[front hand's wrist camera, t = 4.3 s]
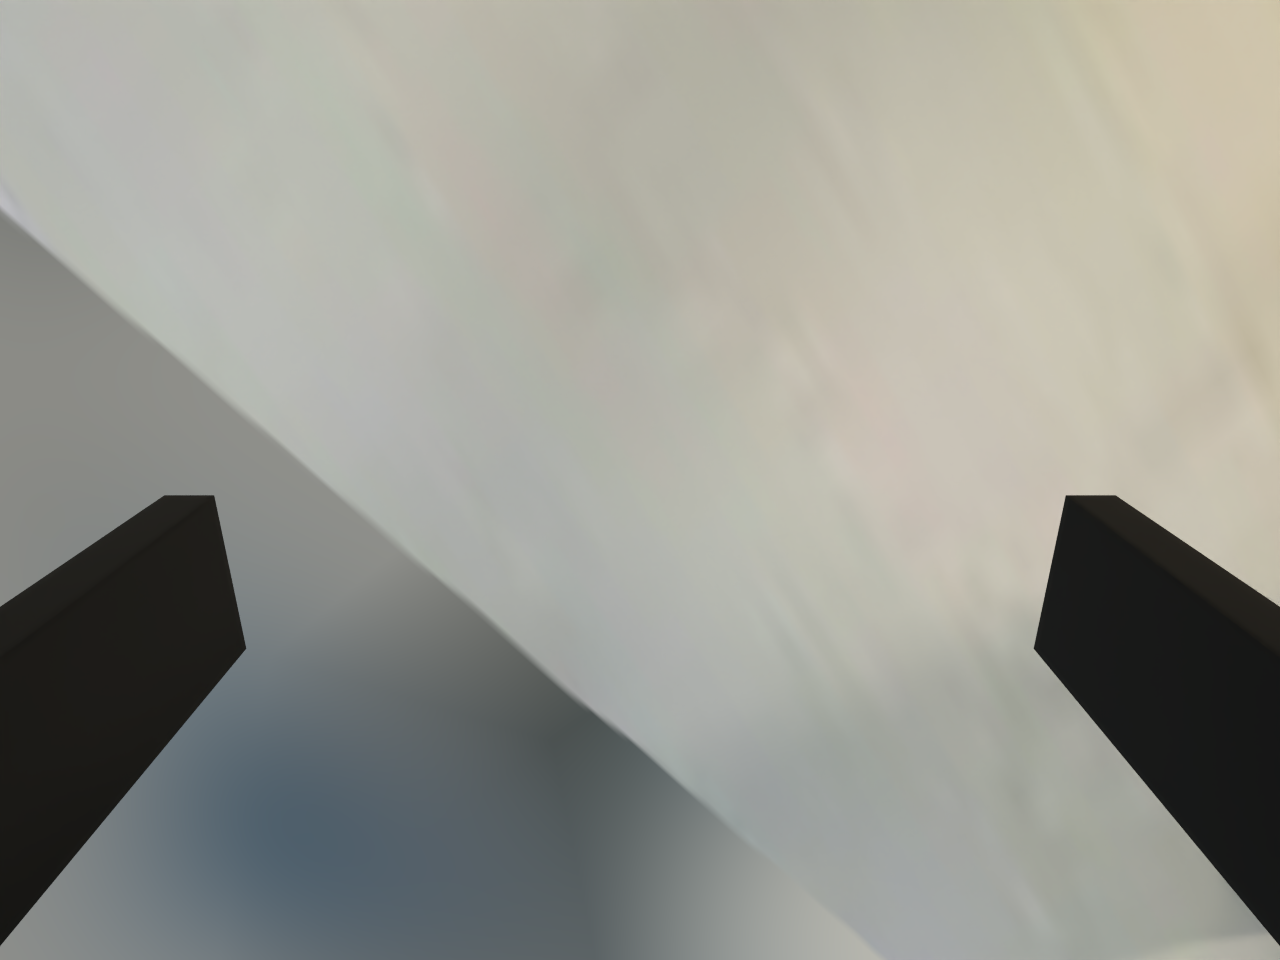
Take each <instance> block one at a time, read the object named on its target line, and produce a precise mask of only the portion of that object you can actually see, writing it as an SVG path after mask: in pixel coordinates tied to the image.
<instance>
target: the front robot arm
mask: <svg viewBox="0 0 1280 960" xmlns="http://www.w3.org/2000/svg"><path fill="white" fill-rule="evenodd" d="M245 649H246V646H245V641H244V636H243V631H242V626H241V622H240V617H239V612H238V607H237V602H236V598H235V593H234V588H233V583H232V579H231V574H230V569H229V564H228V560H227V555H226V550H225V545H224V541H223V536H222V531H221V526H220V521H219V517H218V512H217V507H216V502H215V497H214V496H213V495H211V496H210V495H209V496H207V495H205V496H204V495H202V496H199V495H197V496H194V495H192V496H191V495H190V496H187V495H186V496H183V495H182V496H181V495H173V496H172V495H171V496H170V495H168V496H167V495H165V496H163V497H161V498H160V499H158V500H157V501H156V502H154V503H153V504H151V505H150V506H148V507H147V508H145V509H144V510H142V511H141V512H139V513H138V514H136V515H135V516H133V517H132V518H130V519H129V520H128V521H126V522H125V523H123V524H122V525H120V526H119V527H117V528H116V529H114V530H113V531H111V532H110V533H108V534H107V535H105V536H104V537H102V538H101V539H100V540H98V541H97V542H95V543H94V544H92V545H91V546H89V547H88V548H86V549H85V550H83V551H82V552H80V553H79V554H77V555H76V556H75V557H73V558H72V559H70V560H69V561H67V562H66V563H64V564H63V565H61V566H60V567H58V568H57V569H55V570H54V571H52V572H51V573H49V574H48V575H46V576H45V577H44V578H42V579H41V580H39V581H38V582H36V583H35V584H33V585H32V586H30V587H29V588H27V589H26V590H24V591H23V592H21V593H20V594H19V595H17V596H15V597H14V598H13V599H11V600H10V601H8V602H7V603H5V604H4V605H2V606H1V607H0V945H1V944H2V943H3V942H4V941H5V939H6V938H7V937H8V936H9V934H10V933H11V932H12V931H13V930H14V928H15V927H16V926H17V925H18V924H19V922H20V921H21V920H22V919H23V918H24V916H25V915H26V914H27V913H28V912H29V910H30V909H31V908H32V907H33V905H34V904H35V903H36V902H37V901H38V899H39V898H40V897H41V896H42V895H43V893H44V892H45V891H46V890H47V889H48V887H49V886H50V885H51V884H52V883H53V881H54V880H55V879H56V878H57V876H58V875H59V874H60V873H61V872H62V871H63V869H64V868H65V867H66V866H67V864H68V863H69V862H70V861H71V860H72V858H73V857H74V856H75V855H76V854H77V852H78V851H79V850H80V849H81V848H82V846H83V845H84V844H85V843H86V842H87V840H88V839H89V838H90V837H91V835H92V834H93V833H94V832H95V831H96V829H97V828H98V827H99V826H100V825H101V823H102V822H103V821H104V820H105V819H106V817H107V816H108V815H109V814H110V813H111V811H112V810H113V809H114V808H115V806H116V805H117V804H118V803H119V802H120V800H121V799H122V798H123V797H124V796H125V794H126V793H127V792H128V791H129V790H130V788H131V787H132V786H133V785H134V783H135V782H136V781H137V780H138V779H139V777H140V776H141V775H142V774H143V773H144V771H145V770H146V769H147V768H148V767H149V765H150V764H151V763H152V762H153V760H154V759H155V758H156V757H157V756H158V755H159V753H160V752H161V751H162V750H163V748H164V747H165V746H166V745H167V744H168V742H169V741H170V740H171V739H172V738H173V736H174V735H175V734H176V733H177V732H178V730H179V729H180V728H181V727H182V726H183V724H184V723H185V722H186V721H187V719H188V718H189V717H190V716H191V715H192V713H193V712H194V711H195V710H196V709H197V707H198V706H199V705H200V704H201V703H202V701H203V700H204V699H205V698H206V696H207V695H208V694H209V693H210V692H211V691H212V689H213V688H214V687H215V686H216V684H217V683H218V682H219V681H220V680H221V678H222V677H223V676H224V675H225V674H226V672H227V671H228V670H229V669H230V667H231V666H232V665H233V664H234V663H235V662H236V660H237V659H238V658H239V657H240V655H241V654H242V653H243V652H244V651H245ZM1034 649H1035V651H1036V652H1037V653H1038V654H1039V655H1040V657H1041V658H1042V659H1043V660H1044V662H1045V663H1046V664H1047V665H1048V666H1049V668H1050V669H1051V670H1052V671H1053V672H1054V674H1055V675H1056V676H1057V677H1058V678H1059V680H1060V681H1061V682H1062V683H1063V684H1064V686H1065V687H1066V688H1067V689H1068V691H1069V692H1070V693H1071V694H1072V695H1073V697H1074V698H1075V699H1076V700H1077V701H1078V703H1079V704H1080V705H1081V706H1082V707H1083V709H1084V710H1085V711H1086V712H1087V713H1088V715H1089V716H1090V717H1091V718H1092V720H1093V721H1094V722H1095V723H1096V724H1097V726H1098V727H1099V728H1100V729H1101V730H1102V732H1103V733H1104V734H1105V735H1106V736H1107V738H1108V739H1109V740H1110V741H1111V742H1112V744H1113V745H1114V746H1115V747H1116V748H1117V750H1118V751H1119V752H1120V753H1121V755H1122V756H1123V757H1124V758H1125V759H1126V761H1127V762H1128V763H1129V764H1130V765H1131V767H1132V768H1133V769H1134V770H1135V771H1136V773H1137V774H1138V775H1139V776H1140V777H1141V779H1142V780H1143V781H1144V782H1145V784H1146V785H1147V786H1148V787H1149V788H1150V790H1151V791H1152V792H1153V793H1154V794H1155V796H1156V797H1157V798H1158V799H1159V800H1160V802H1161V803H1162V804H1163V805H1164V806H1165V808H1166V809H1167V810H1168V811H1169V813H1170V814H1171V815H1172V816H1173V817H1174V819H1175V820H1176V821H1177V822H1178V823H1179V825H1180V826H1181V827H1182V828H1183V829H1184V831H1185V832H1186V833H1187V834H1188V835H1189V837H1190V838H1191V839H1192V840H1193V842H1194V843H1195V844H1196V845H1197V846H1198V848H1199V849H1200V850H1201V851H1202V852H1203V854H1204V855H1205V856H1206V857H1207V858H1208V860H1209V861H1210V862H1211V863H1212V864H1213V866H1214V867H1215V868H1216V869H1217V871H1218V872H1219V873H1220V874H1221V875H1222V877H1223V878H1224V879H1225V880H1226V881H1227V883H1228V884H1229V885H1230V886H1231V887H1232V889H1233V890H1234V891H1235V892H1236V893H1237V895H1238V896H1239V897H1240V898H1241V900H1242V901H1243V902H1244V903H1245V904H1246V906H1247V907H1248V908H1249V909H1250V910H1251V912H1252V913H1253V914H1254V915H1255V916H1256V918H1257V919H1258V920H1259V921H1260V922H1261V924H1262V925H1263V926H1264V927H1265V928H1266V930H1267V931H1268V932H1269V933H1270V935H1271V936H1272V937H1273V938H1274V939H1275V941H1276V942H1277V943H1278V944H1279V945H1280V607H1279V606H1278V605H1276V604H1275V603H1273V602H1272V601H1270V600H1269V599H1267V598H1266V597H1265V596H1263V595H1262V594H1260V593H1259V592H1257V591H1256V590H1254V589H1253V588H1251V587H1250V586H1248V585H1247V584H1245V583H1244V582H1242V581H1241V580H1239V579H1238V578H1236V577H1235V576H1234V575H1232V574H1231V573H1229V572H1228V571H1226V570H1225V569H1223V568H1222V567H1220V566H1219V565H1217V564H1216V563H1214V562H1213V561H1211V560H1210V559H1208V558H1207V557H1206V556H1204V555H1203V554H1201V553H1200V552H1198V551H1197V550H1195V549H1194V548H1192V547H1191V546H1189V545H1188V544H1186V543H1185V542H1183V541H1182V540H1180V539H1179V538H1178V537H1176V536H1175V535H1173V534H1172V533H1170V532H1169V531H1167V530H1166V529H1164V528H1163V527H1161V526H1160V525H1158V524H1157V523H1155V522H1154V521H1152V520H1151V519H1150V518H1148V517H1147V516H1145V515H1144V514H1142V513H1141V512H1139V511H1138V510H1136V509H1135V508H1133V507H1132V506H1130V505H1129V504H1127V503H1126V502H1124V501H1123V500H1122V499H1120V498H1119V497H1117V496H1116V495H1066V497H1065V502H1064V507H1063V512H1062V517H1061V521H1060V526H1059V531H1058V536H1057V540H1056V545H1055V550H1054V555H1053V559H1052V564H1051V569H1050V574H1049V579H1048V583H1047V588H1046V593H1045V598H1044V602H1043V607H1042V612H1041V617H1040V622H1039V626H1038V631H1037V636H1036V641H1035V645H1034Z"/></svg>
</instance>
